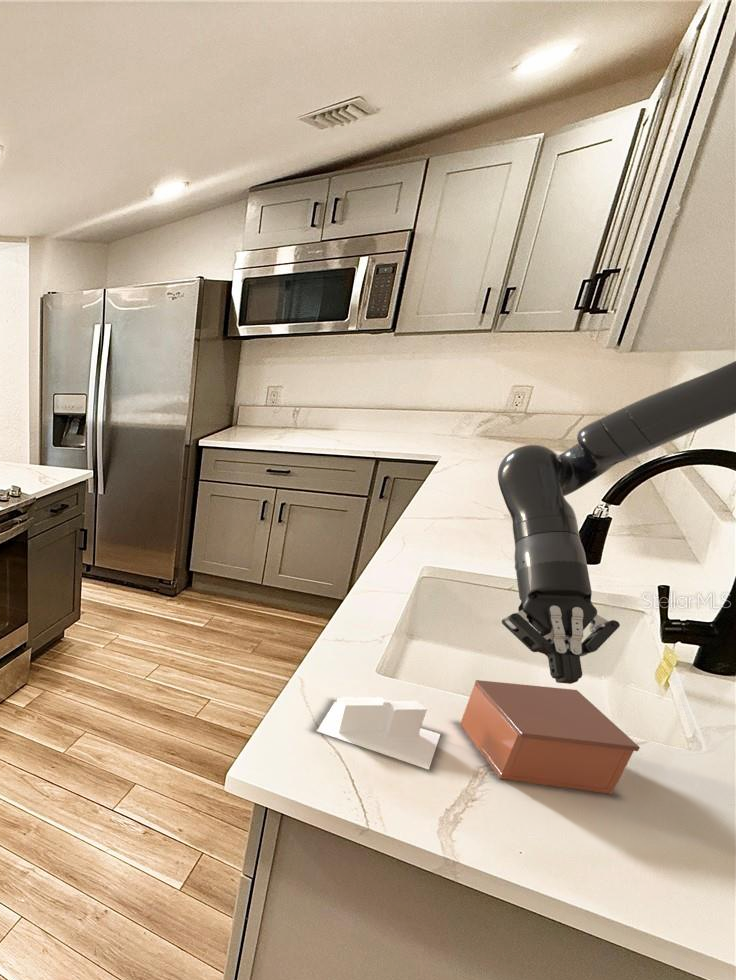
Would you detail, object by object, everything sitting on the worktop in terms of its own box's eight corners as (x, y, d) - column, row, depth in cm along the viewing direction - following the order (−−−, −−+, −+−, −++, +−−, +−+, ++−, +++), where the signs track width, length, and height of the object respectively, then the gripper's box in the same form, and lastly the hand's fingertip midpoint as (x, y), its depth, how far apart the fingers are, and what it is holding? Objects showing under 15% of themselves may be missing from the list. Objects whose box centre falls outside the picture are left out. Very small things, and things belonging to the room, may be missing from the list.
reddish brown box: (611, 794, 84) (635, 748, 81) (499, 778, 88) (517, 734, 85) (556, 735, 96) (575, 693, 93) (459, 724, 100) (474, 683, 97)
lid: (638, 751, 81) (640, 747, 80) (519, 737, 85) (521, 733, 84) (575, 693, 93) (577, 689, 93) (474, 683, 97) (475, 679, 96)
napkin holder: (316, 731, 100) (323, 702, 98) (334, 701, 108) (340, 673, 105) (429, 770, 91) (440, 738, 88) (440, 733, 98) (451, 703, 96)
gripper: (510, 556, 90) (525, 670, 84) (626, 561, 86) (650, 681, 80) (482, 576, 96) (494, 682, 91) (589, 582, 92) (608, 694, 87)
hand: (567, 682), depth 86 cm, fingers closed
